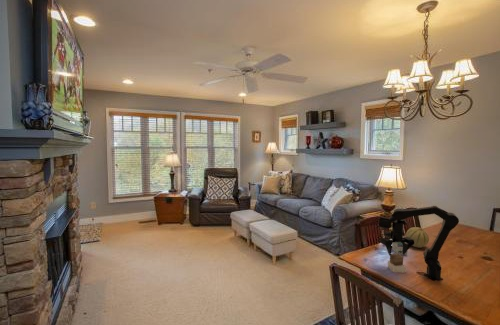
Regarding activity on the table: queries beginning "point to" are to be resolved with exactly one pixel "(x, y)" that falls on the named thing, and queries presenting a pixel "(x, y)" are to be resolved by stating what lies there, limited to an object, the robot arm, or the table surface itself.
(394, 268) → the cream block
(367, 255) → the table surface
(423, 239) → the cantaloupe
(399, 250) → the light bulb box
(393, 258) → the walnut cube
